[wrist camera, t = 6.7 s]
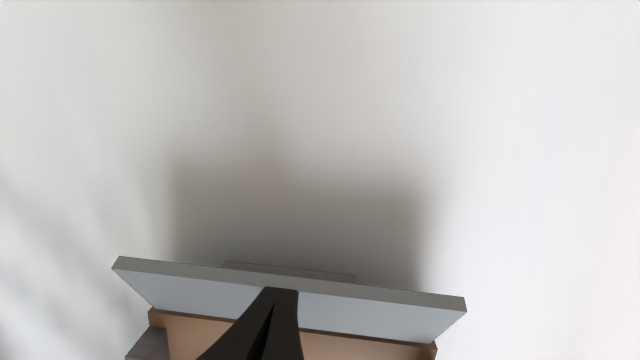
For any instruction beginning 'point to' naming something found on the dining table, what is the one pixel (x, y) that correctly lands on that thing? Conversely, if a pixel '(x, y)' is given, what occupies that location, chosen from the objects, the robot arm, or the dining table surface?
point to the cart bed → (202, 331)
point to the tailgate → (313, 302)
